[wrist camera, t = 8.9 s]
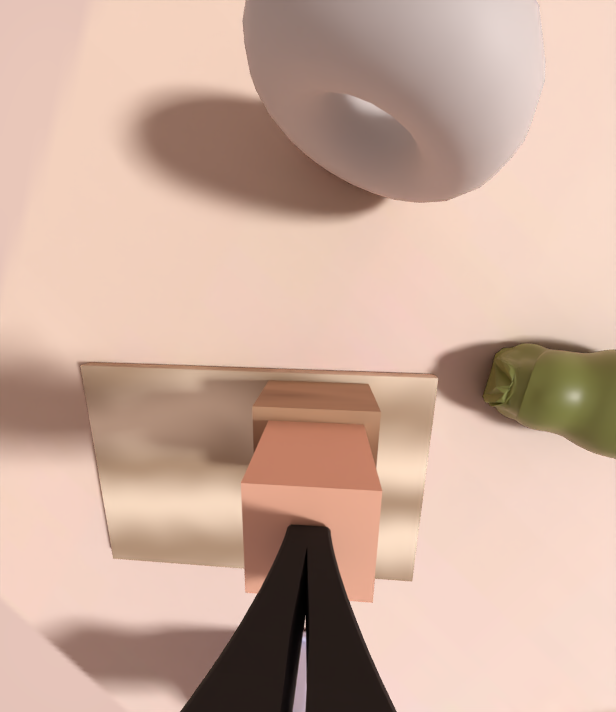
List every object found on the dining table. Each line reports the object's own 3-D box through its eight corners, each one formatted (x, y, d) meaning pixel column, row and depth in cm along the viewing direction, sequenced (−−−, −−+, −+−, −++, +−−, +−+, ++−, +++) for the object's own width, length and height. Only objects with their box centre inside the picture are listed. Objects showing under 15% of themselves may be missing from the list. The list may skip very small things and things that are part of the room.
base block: (362, 472, 18) (371, 521, 14) (270, 467, 19) (255, 513, 15) (368, 383, 17) (381, 411, 13) (268, 379, 17) (252, 406, 13)
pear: (744, 502, 12) (490, 447, 14) (637, 441, 17) (460, 406, 19) (817, 380, 11) (524, 337, 13) (677, 352, 16) (482, 325, 18)
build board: (408, 570, 21) (412, 583, 20) (120, 549, 22) (111, 560, 21) (433, 374, 17) (439, 379, 16) (90, 362, 19) (77, 366, 18)
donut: (264, 154, 15) (154, -80, 6) (289, 83, 14) (213, -336, 5) (429, 235, 16) (599, 147, 6) (463, 170, 15) (723, -55, 5)
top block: (358, 506, 14) (372, 602, 10) (269, 501, 15) (245, 592, 10) (363, 424, 13) (382, 490, 9) (268, 420, 14) (240, 483, 9)
